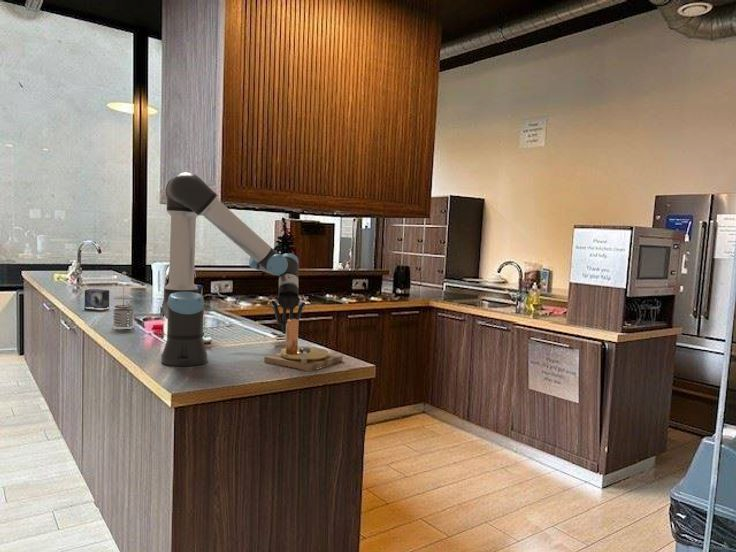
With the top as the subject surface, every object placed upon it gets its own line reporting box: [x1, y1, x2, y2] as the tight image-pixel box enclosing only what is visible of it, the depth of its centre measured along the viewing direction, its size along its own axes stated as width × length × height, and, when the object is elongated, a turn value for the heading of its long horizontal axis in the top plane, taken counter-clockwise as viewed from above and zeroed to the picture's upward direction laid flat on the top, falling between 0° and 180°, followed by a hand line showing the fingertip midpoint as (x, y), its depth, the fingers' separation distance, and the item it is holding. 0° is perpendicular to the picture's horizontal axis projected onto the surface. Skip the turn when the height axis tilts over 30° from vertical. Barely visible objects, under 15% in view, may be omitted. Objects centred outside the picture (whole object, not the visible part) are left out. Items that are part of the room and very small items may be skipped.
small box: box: [84, 288, 110, 308], centre depth 290 cm, size 11×6×10 cm, turn 80°
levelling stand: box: [264, 352, 344, 372], centre depth 198 cm, size 20×20×5 cm
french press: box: [112, 271, 135, 327], centre depth 242 cm, size 10×12×25 cm
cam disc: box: [279, 318, 329, 361], centre depth 197 cm, size 17×17×14 cm
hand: (287, 340), depth 196 cm, fingers closed
